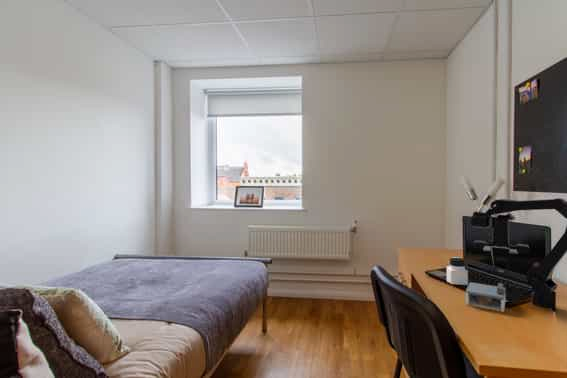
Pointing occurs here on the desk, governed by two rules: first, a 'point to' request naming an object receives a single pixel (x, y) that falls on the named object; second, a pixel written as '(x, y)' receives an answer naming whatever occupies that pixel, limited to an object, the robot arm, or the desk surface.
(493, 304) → the box
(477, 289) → the slate lid
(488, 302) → the letter cube
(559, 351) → the desk surface
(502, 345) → the desk surface
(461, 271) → the medicine bottle
